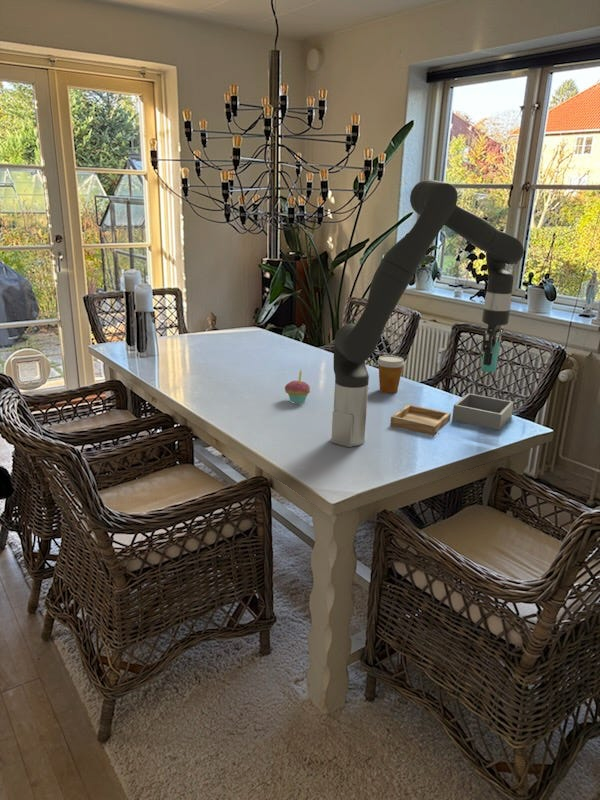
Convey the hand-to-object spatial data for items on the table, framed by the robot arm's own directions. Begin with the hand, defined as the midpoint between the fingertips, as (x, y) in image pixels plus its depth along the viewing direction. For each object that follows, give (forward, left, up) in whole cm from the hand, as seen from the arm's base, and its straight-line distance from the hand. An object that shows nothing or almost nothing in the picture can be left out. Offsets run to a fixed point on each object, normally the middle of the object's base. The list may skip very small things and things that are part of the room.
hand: (489, 362), depth 186 cm
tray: (-14, +15, -19) cm, 28 cm away
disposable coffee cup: (+11, +37, -19) cm, 43 cm away
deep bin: (0, 0, -19) cm, 19 cm away
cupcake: (-19, +57, -19) cm, 63 cm away
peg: (0, 0, -2) cm, 2 cm away
